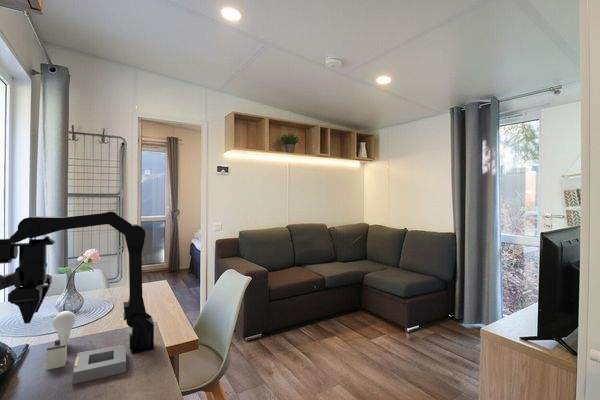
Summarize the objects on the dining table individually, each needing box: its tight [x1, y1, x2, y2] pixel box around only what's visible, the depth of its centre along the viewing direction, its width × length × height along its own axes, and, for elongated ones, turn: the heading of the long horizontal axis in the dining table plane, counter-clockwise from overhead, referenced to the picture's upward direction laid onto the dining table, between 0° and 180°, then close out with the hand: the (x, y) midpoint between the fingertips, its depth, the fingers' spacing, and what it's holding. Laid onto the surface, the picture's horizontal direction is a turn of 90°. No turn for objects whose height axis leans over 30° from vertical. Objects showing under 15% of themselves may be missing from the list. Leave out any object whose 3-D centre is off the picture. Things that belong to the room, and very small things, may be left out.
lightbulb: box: [52, 310, 77, 344], centre depth 101 cm, size 6×6×11 cm
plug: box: [46, 338, 68, 370], centre depth 89 cm, size 4×4×7 cm
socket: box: [71, 343, 127, 385], centre depth 88 cm, size 12×12×3 cm
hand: (31, 317), depth 86 cm, fingers open, 9 cm apart
